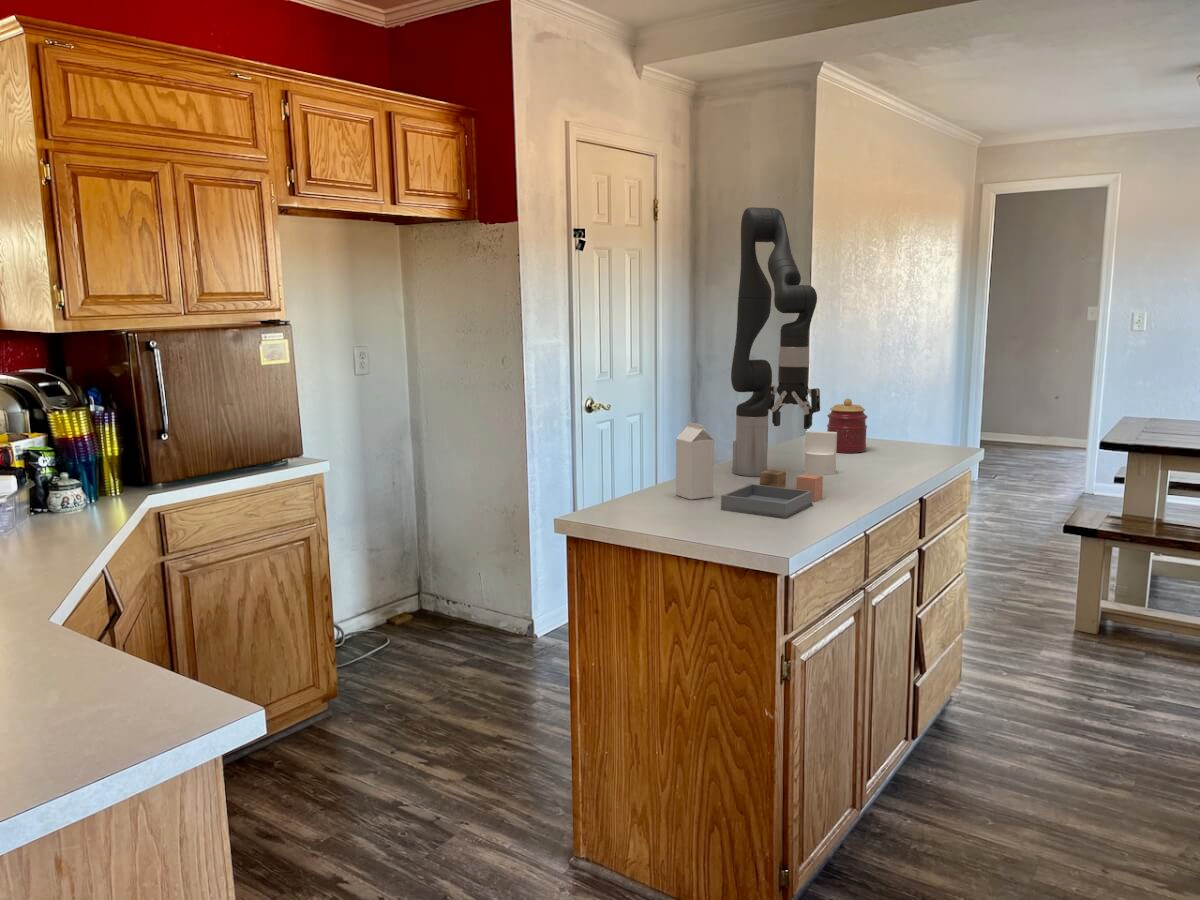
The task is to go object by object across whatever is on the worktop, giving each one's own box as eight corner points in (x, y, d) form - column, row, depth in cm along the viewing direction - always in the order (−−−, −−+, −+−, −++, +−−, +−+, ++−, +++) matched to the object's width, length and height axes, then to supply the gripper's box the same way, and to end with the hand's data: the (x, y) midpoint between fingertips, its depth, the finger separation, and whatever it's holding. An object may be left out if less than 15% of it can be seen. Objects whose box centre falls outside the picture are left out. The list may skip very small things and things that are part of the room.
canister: (827, 453, 293) (829, 400, 290) (824, 447, 305) (826, 396, 302) (868, 454, 291) (870, 400, 288) (863, 447, 303) (865, 396, 300)
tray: (720, 509, 214) (721, 495, 213) (750, 497, 227) (750, 483, 227) (785, 518, 204) (785, 503, 204) (812, 505, 218) (812, 491, 217)
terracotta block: (795, 499, 224) (796, 476, 223) (803, 496, 228) (804, 473, 227) (814, 502, 221) (815, 478, 220) (822, 498, 225) (822, 475, 224)
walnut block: (759, 495, 230) (760, 472, 229) (767, 491, 234) (768, 469, 233) (777, 497, 227) (778, 474, 226) (785, 494, 231) (785, 471, 230)
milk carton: (690, 500, 224) (691, 426, 221) (675, 495, 230) (675, 423, 227) (713, 497, 227) (714, 424, 224) (698, 492, 234) (699, 421, 231)
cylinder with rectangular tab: (801, 474, 258) (803, 433, 256) (806, 468, 266) (808, 429, 264) (833, 476, 254) (834, 434, 252) (837, 470, 262) (839, 430, 260)
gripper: (761, 364, 227) (760, 426, 230) (812, 366, 218) (810, 431, 221) (775, 362, 233) (774, 423, 235) (826, 364, 224) (823, 428, 226)
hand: (791, 427), depth 228 cm, fingers open, 8 cm apart
